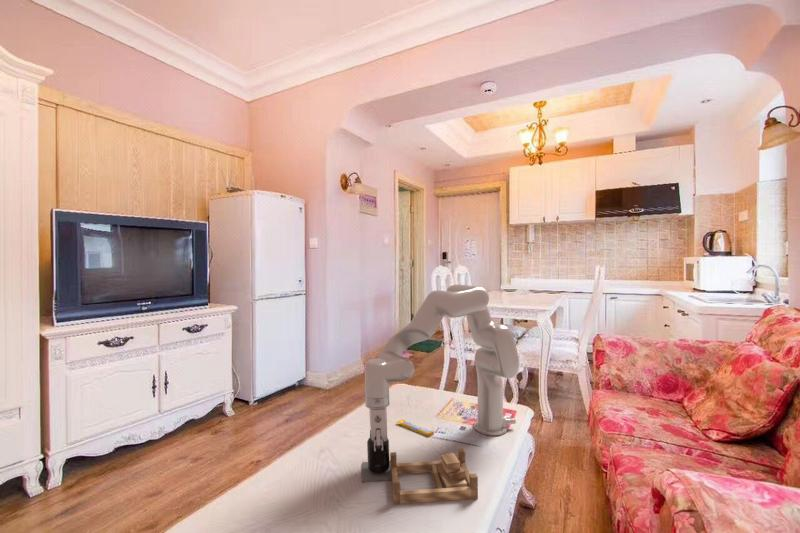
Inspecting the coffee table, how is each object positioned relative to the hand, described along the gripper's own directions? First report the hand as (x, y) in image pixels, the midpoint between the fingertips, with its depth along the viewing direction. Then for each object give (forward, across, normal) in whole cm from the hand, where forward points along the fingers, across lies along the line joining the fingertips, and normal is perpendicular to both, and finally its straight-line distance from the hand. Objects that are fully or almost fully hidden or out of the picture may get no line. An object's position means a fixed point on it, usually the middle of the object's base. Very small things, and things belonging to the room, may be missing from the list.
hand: (378, 455), depth 114 cm
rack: (+5, -8, -15) cm, 18 cm away
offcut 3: (+6, -8, -21) cm, 24 cm away
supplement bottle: (+4, 0, 0) cm, 4 cm away
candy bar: (+6, +26, -15) cm, 31 cm away
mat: (+5, 0, 0) cm, 5 cm away
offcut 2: (+3, -8, -21) cm, 23 cm away
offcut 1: (0, -8, -21) cm, 23 cm away
